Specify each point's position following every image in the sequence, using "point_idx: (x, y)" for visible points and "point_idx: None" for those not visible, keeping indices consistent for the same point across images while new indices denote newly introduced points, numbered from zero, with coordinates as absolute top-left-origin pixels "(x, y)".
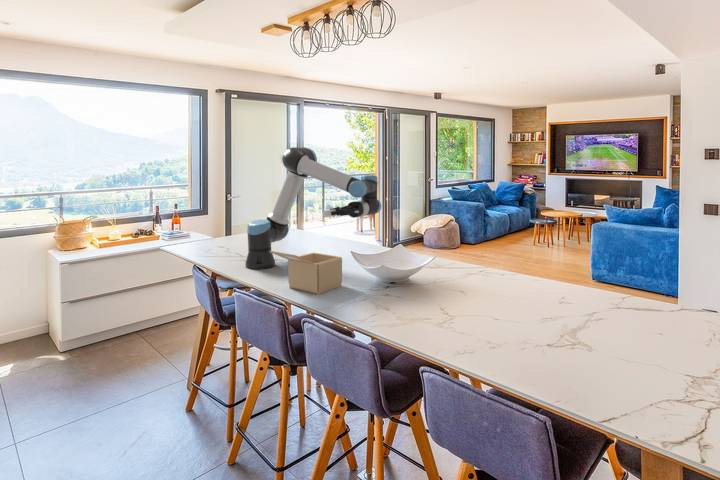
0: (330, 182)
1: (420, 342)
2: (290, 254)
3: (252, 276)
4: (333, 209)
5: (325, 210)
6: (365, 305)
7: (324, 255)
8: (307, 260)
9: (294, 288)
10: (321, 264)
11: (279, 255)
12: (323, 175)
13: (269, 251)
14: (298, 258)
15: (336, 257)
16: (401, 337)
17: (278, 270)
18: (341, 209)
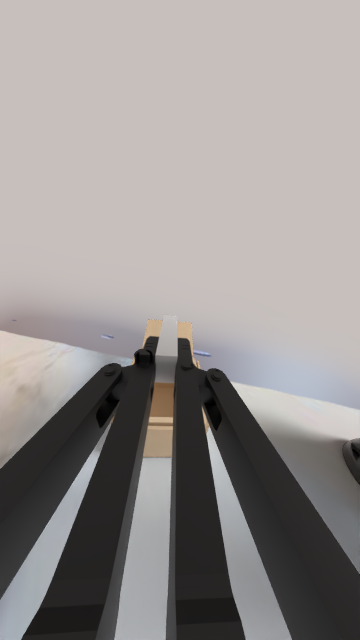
0: None
1: (6, 340)
2: (156, 320)
3: (279, 404)
4: (172, 354)
5: (176, 320)
6: (58, 386)
7: (167, 418)
8: (144, 338)
9: None
10: (133, 360)
11: (186, 334)
12: None
13: (191, 323)
14: (150, 328)
15: None
16: (24, 341)
17: (325, 480)
18: (127, 405)
